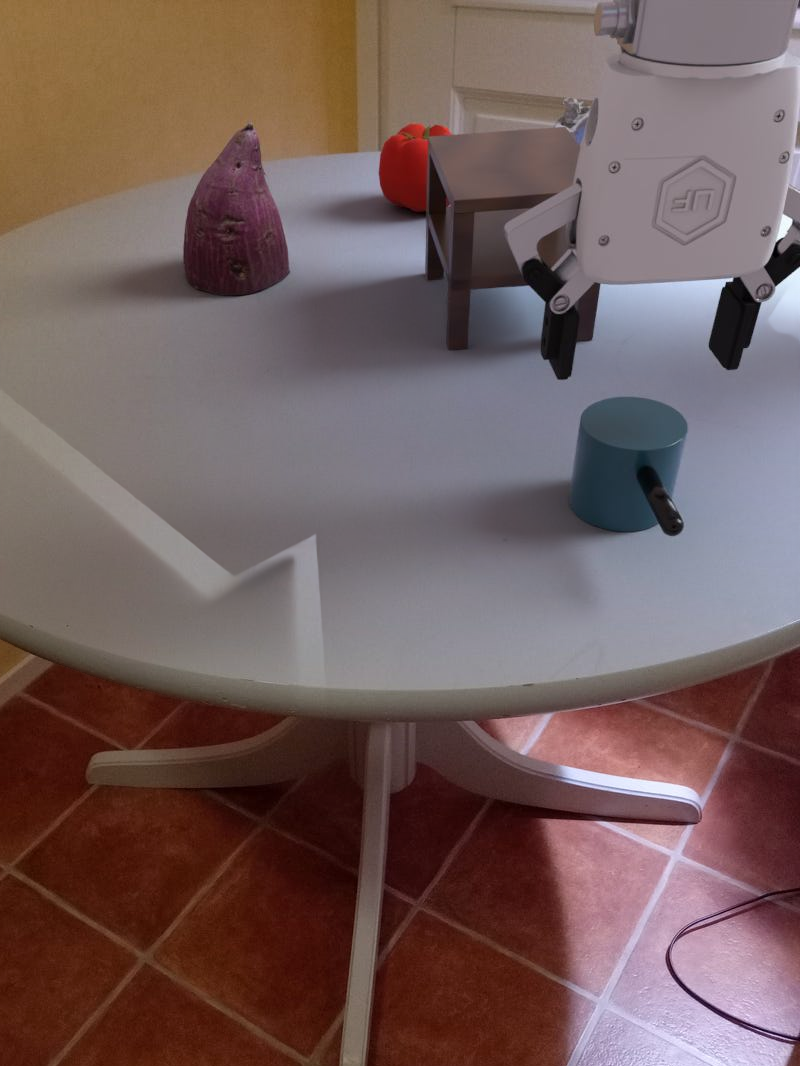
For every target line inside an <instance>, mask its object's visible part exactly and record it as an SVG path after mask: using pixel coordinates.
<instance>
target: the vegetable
mask: <svg viewBox="0 0 800 1066" xmlns="http://www.w3.org/2000/svg"><path fill="white" fill-rule="evenodd" d="M261 152H262V151H261V143H260V138H259V136H258V133H257V131H256V129H255V128H254V125H253V123H252V121H249V122H248V123H247V124H246V125H245V126H244V127H243V128H241V129H239V130H238V131H236V132H235V133H234V134H233V136H232V137H231V138H230V140H229V141H228V142H227V143H226V145H225V147H224V148H223V149H222V150H221V152H220V153H219V155H218V156H217V158H215V160H214V161H213V163H212V164H211V165H210V166H209V167H208V168H207V169H206V171H205V172H204V173H203V175H202V176H201V178H200V179H199V181H198V183H197V186H196V188H195V189H194V192H193V195H192V197H191V198H190V201H189V204H188V207H187V213H186V219H185V224H184V233H183V234H184V236H183V245H182V247H183V249H182V255H183V256H182V257H183V267H184V273H185V277H186V280H187V283H189V284H190V285H191V286H193V287H194V288H195V289H196V290H197V291H198V290H201V291H205V292H206V293H207V292H208V293H211V294H215V295H220V296H243V295H244V296H245V295H250V294H254V293H257V292H261V291H263V290H265V289H268V288H270V287H271V286H273V285H276V284H277V283H279V282H282V281H283V280H284V279H285V278H287V276H288V275H289V274H290V273H291V270H290V262H289V250H288V249H289V248H288V244H287V240H286V236H285V231H284V225H283V223H282V218H281V215H280V211H279V208H278V207H277V204H276V202H275V199H274V197H273V195H272V193H271V190H270V188H269V184H268V183H267V181H266V176H265V175H266V173H265V169H264V167H263V164H262V153H261Z"/></svg>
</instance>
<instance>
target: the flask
mask: <svg viewBox="0 0 800 1066" xmlns="http://www.w3.org/2000/svg"><path fill="white" fill-rule="evenodd" d="M565 103H566V107H567V108H565V111H564V112H563V116H561V117H560V118H559V119H558V120H557V121H556V122H555V123H554V125H553V126H552V128H555V127H566V128H567V129H568V131H569V132H570V133H571V135H572V136H573V137H574V138H575V140H576V141H577V142H578V143H579V145H580V146H581V143H582V139H583V135H584V131H585V127H586V123H587V120H588V116H589V112H590V109H591V106H590V105H587V106H583V104H584V101H582V100H581V101H578V99H577V98H576V97H574V98H572V97H570V96H567V97H565V98H564V99H563V100H562V106H565Z"/></svg>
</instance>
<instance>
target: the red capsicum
mask: <svg viewBox="0 0 800 1066" xmlns="http://www.w3.org/2000/svg"><path fill="white" fill-rule="evenodd" d="M444 135H453V133H451V132H450V130H449V128H448V127H446V126H443V125H440V124H434V125H432V126H431V124H429V126H427V127H425V126H424V125H423V124H422V123H409V124H407V125H405V126H403V127H402V128H401V129H400V130H399V131H397V133H396V134H393V135H391V136H390V137H389V138H388V139H386V140H385V142H384V143H383V146H382V149H381V152H380V155H379V166H378V179H379V187H380V190H381V193H382V195H383V196H384V198H385V199H386V200H388V202H390V203H391V204H393V205H395V206H397V207H400V208H408V209H410V210H411V211H413V212H415V213H422V212H426V205H427V153H428V137H430V136H444ZM449 206H451V205H450V202H449V200H448V198H447V204H446V207H449Z"/></svg>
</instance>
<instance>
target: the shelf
mask: <svg viewBox="0 0 800 1066" xmlns="http://www.w3.org/2000/svg"><path fill="white" fill-rule="evenodd" d="M580 147H581V146H580V145H579V143H578V142H577V141H576V140H575V138H574V137H573V136H572V135H571V133H570V132H569V131H568V129H567V128H566V127H555V128H553V127H543V128H529V129H516V130H502V131H499V130H498V131H486V132H475V133H472V132H471V133H460V134H452V135H444V136H430V137H428V153H427V205H426V211H425V213H426V214H425V256H424V257H425V258H424V259H425V260H424V262H425V263H424V265H425V267H424V273H425V277H426V280H438V279H440V280H441V279H445V277H446V280H447V298H446V299H447V302H446V305H447V306H446V333H445V342H446V347H447V350H449V351H452V350H453V351H454V350H455V351H456V350H467V349H468V348H469V332H470V331H469V330H470V313H471V312H470V310H471V292H472V291H473V290H474V291H475V290H486V289H487V290H488V289H499V288H514V287H515V288H516V287H530V286H529V285H528V284H527V283H526V282H525V280H524V278H523V276H522V274H521V272H520V270H519V268H518V265H517V263H516V261H515V259H514V256H513V254H512V252H511V250H510V247H509V245H508V243H507V240H506V238H505V236H504V233H503V229H504V226H505V224H506V223H507V222H508V221H510V220H512V219H514V218H515V217H517V216H519V215H521V214H522V213H524V212H526V211H528V210H530V209H531V208H533V207H535V206H537V205H538V204H540V203H542V202H544V201H546V200H547V199H549V198H551V197H553V196H554V195H556V194H558V193H560V192H561V191H563V190H565V189H567V188H569V187H570V186H572V185H573V181H574V176H575V171H576V166H577V161H578V157H579V152H580ZM447 198H448V200H449V202H450V205H449V206H447V207H446V204H447ZM566 226H567V224H566V225H564V226H562V227H561V228H559V229H557V230H555V231H553V232H552V233H550V234H548V235H546V236H544V237H543V238H541V239H540V240H539V242H538V243H537V251H538V253H539V256H540V258H541V259H542V260H543V261H544V262H545V263H546V264H547V265H548V266H549V267H550V268H552V267H553V266H554V265H555V264H556V263H557V262H558V260H559V259H560V258H561V257H562V256H563V255H564V254H565V253H566V252H567V251H568V250H569V248H568V246H567V243H566ZM601 285H602V284H600V283H597V282H595V283H594V284H593V285H592V286H591V287H590V288H589V289H588V290H587V291H586V292H585V293H584V294H583V295H582V296H581V297H580V298H579V300H578V301H577V302H576V303H575V304H574V306H575V308H576V310H577V312H578V314H579V326H578V333H577V340H576V342H580V341H592V340H594V332H595V325H596V318H597V310H598V304H599V299H600V298H599V297H600V291H601Z"/></svg>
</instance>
